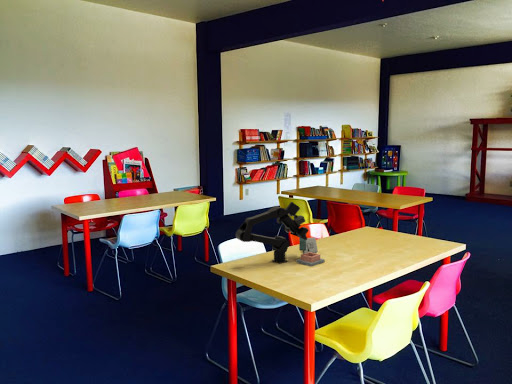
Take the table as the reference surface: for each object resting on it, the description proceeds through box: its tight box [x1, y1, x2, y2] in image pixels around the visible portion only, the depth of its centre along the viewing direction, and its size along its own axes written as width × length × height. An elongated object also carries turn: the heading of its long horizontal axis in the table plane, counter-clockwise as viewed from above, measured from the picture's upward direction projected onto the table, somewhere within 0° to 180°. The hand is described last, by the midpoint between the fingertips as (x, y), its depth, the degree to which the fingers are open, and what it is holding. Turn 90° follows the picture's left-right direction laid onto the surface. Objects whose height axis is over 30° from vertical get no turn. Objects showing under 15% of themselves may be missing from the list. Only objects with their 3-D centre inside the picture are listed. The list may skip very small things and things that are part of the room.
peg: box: [298, 237, 306, 252], centre depth 261 cm, size 4×4×12 cm
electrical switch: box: [302, 237, 318, 254], centre depth 274 cm, size 9×5×9 cm, turn 116°
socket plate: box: [295, 252, 325, 267], centre depth 253 cm, size 12×11×4 cm
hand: (304, 238), depth 262 cm, fingers closed on peg, 4 cm apart
